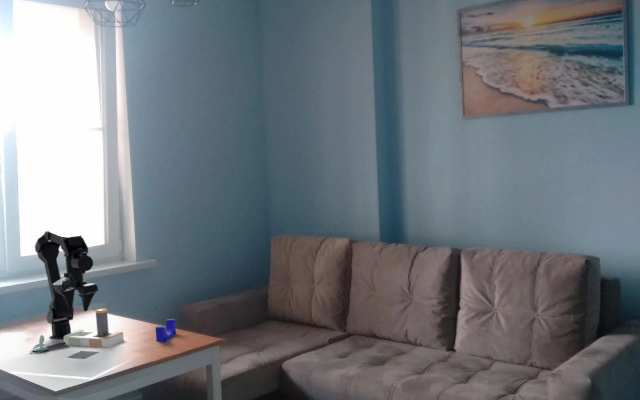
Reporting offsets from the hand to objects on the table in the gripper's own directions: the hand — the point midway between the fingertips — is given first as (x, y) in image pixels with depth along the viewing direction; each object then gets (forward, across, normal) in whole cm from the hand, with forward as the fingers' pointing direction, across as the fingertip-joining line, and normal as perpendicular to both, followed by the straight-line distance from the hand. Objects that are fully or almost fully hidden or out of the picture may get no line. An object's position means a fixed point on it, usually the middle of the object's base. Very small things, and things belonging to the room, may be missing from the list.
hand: (77, 310), depth 251 cm
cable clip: (+14, +24, +20) cm, 34 cm away
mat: (+13, +15, -10) cm, 22 cm away
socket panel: (+13, +4, +3) cm, 14 cm away
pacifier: (+13, -6, -14) cm, 20 cm away
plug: (+13, +9, +4) cm, 16 cm away
